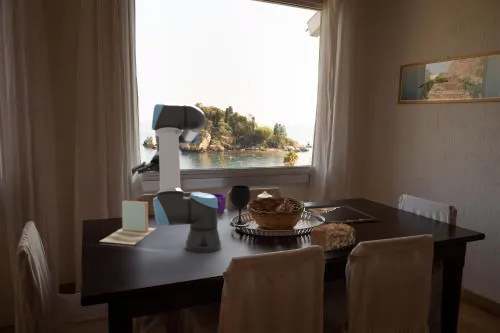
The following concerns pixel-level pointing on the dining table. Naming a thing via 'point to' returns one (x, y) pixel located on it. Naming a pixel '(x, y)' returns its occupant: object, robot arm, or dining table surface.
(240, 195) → the wine glass
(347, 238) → the bread
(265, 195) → the teacup with lid
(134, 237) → the board
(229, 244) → the dining table surface
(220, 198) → the mug
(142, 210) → the tile
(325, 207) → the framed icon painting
